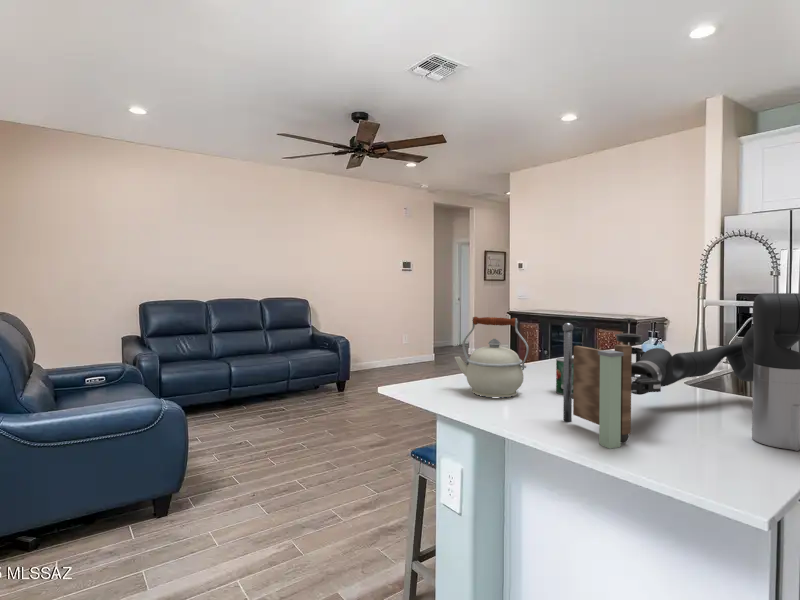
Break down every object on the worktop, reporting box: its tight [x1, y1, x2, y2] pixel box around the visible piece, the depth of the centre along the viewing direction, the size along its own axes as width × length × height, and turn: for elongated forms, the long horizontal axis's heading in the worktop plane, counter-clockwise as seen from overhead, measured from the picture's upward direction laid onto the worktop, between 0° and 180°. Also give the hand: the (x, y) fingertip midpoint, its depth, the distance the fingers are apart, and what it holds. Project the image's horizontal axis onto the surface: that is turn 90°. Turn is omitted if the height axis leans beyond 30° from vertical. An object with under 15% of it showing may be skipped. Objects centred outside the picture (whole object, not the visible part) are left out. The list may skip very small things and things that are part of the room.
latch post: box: [598, 349, 624, 450], centre depth 99 cm, size 4×4×21 cm
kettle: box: [454, 316, 530, 398], centre depth 148 cm, size 25×18×25 cm
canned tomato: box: [555, 357, 574, 396], centre depth 147 cm, size 8×8×11 cm
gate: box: [570, 344, 633, 444], centre depth 108 cm, size 18×3×22 cm, turn 19°
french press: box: [614, 317, 646, 364], centre depth 163 cm, size 12×9×23 cm
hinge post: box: [562, 322, 574, 423], centre depth 117 cm, size 3×3×26 cm
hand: (620, 389), depth 102 cm, fingers closed
